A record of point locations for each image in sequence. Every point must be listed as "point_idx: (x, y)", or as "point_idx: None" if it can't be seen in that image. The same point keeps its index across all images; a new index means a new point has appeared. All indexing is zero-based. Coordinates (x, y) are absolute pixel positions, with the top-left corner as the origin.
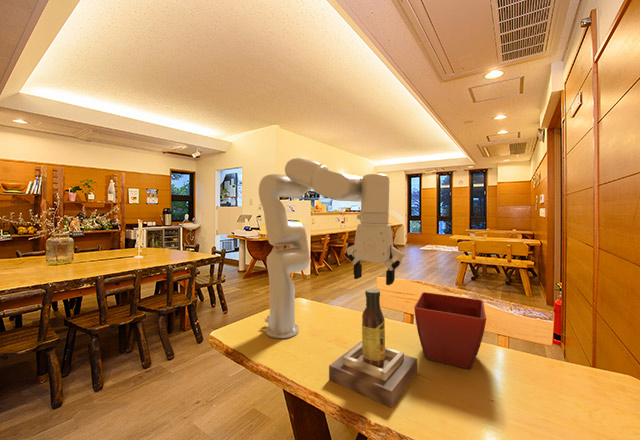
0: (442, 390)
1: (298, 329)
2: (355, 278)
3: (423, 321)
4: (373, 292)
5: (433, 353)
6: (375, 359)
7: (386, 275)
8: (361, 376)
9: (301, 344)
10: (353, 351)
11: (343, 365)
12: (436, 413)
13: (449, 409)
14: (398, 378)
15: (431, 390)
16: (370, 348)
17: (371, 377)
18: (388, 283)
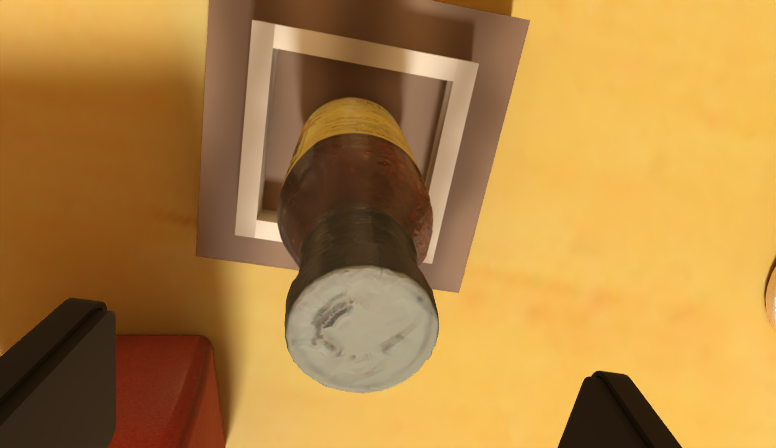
0: (101, 164)
1: (773, 311)
2: (606, 373)
3: (141, 423)
4: (331, 276)
5: (164, 346)
6: (327, 104)
7: (17, 396)
8: (364, 3)
9: (715, 218)
10: (450, 140)
11: (468, 53)
12: (81, 16)
13: (49, 62)
14: (217, 67)
15: (135, 145)
16: (350, 107)
17: (322, 18)
18: (58, 310)
